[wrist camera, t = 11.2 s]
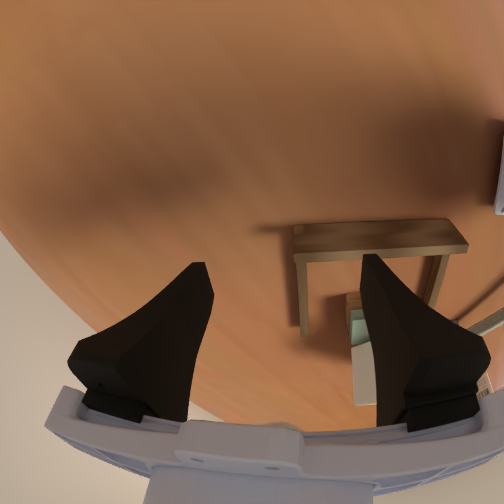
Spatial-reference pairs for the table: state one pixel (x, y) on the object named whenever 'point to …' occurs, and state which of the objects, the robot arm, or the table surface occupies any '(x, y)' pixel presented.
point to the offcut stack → (356, 319)
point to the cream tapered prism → (363, 375)
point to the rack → (375, 249)
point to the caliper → (488, 323)
